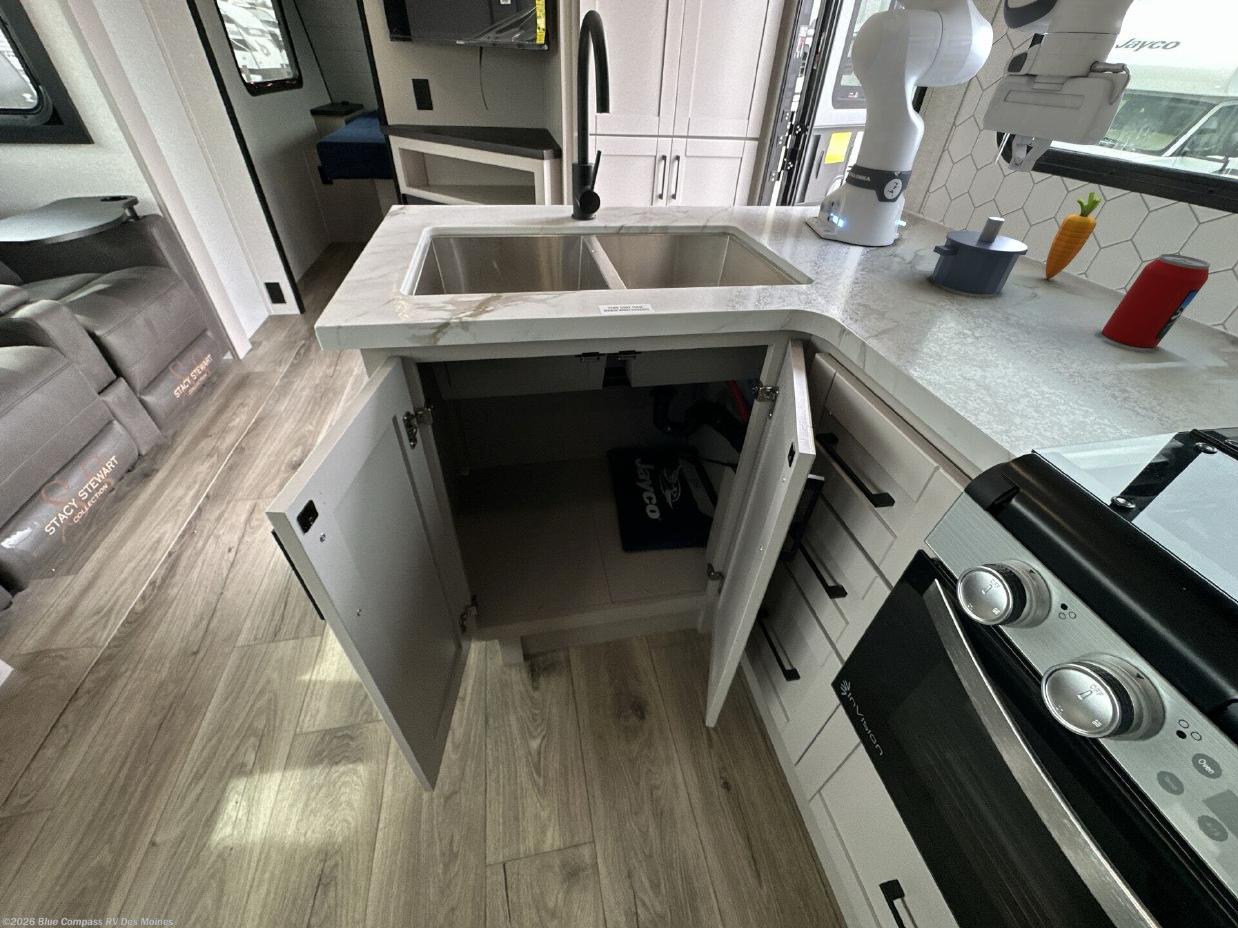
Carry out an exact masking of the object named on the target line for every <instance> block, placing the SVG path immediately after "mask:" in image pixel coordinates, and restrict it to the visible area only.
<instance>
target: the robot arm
mask: <svg viewBox="0 0 1238 928" xmlns="http://www.w3.org/2000/svg"><path fill="white" fill-rule="evenodd" d="M896 1H897V2H898V4H899V5H900V6H901V7H902V8H895V9H889V10H884V11H879V12H875V13H873V14H871V15H870V16H869V17H868V18H867V19H866V20H865V21H864V23H863V24H861V27H860V28H859V29H858V31H857V33H856V35H855V38H854V40H853V42H852V46H851V52H850V64H851V69H852V72H853V74H854V76H855V77H856V79H857V80H858V82H859V83H860V86H861V88H862V90H863V91H862V92H863V94H864V99H865V109H866V110H865V111H866V113H865V114H866V115H865V124H864V129H863V133H862V134H863V135H862V137H861V141H860V146H859V149H858V154H857V158H856V160H855V163H854V164H852V165H848V166H847V168H850V169H848V170H846V172H847V173H848V174H847V175H846V178H845V179H844V183H843V184H842V185H840V186H839V187H837V188H836V189H835V190H833V191H832V192H831V193H829V194H827V195H826V196H825V197H824V198H823V200H822V201H821V203H820V207H819V212H818V215H817V216H810V217H807V219H806V221H805V223H806V224H808V226H810V227H811V228H812V229H813V231H814V232H816V234H818V235H819V236H820V237H821V238H823V239H827V240H833V241H839V242H844V243H848V244H854V245H860V246H869V247H870V246H871V247H884V246H891V245H892V244H894V241H895V240H898V239H899V236H900V233H899V232H897V231H898V229H899V228H898V227H899V225H901V226H903V227H905V226H906V224H907V222H905V221H903V220H901V217H902V214H903V209H904V205H905V203H906V200H905V196H904V191H905V190H907V189H908V185H909V184H910V182H911V178H912V173H913V170H912V167H913V165H914V162H915V159H916V156H917V153H918V150H919V147H920V144H921V142H922V139H923V137H924V134H925V133H924V132H925V122H924V120H923V118H922V116H921V114H919V112H917V111H916V110H915V109H914V107H913V101H912V100H913V90H914V87H927V88H944V87H951V86H955V85H960V84H964V83H967V82H968V81H970V80H971V79H972V78H974V77H975V75H977V74H978V72H979V71H980V70H981V69H982V68H983V66H984V65H985V63H986V62H987V59H988V57H989V55H990V53H991V50H992V46H993V41H994V31H993V27H992V25H991V23H990V22H989V21H988V20H987V19H986V18H985V17H984V16H983V15H982V14H981V12H980V11H979V10H978V7H977V6H976V4H975V2H974V0H896ZM1138 2H1139V0H1004V2H1003V9H1002V12H1003V13H1002V14H1003V19H1004V23H1005V25H1006V26H1007V27H1008V28H1009V29H1012V30H1014V31H1017V32H1020V33H1031V34H1037V35H1044V36H1043V38H1042V40H1041V42H1040V43H1037V44H1035V45H1033V46H1031V47H1028V48H1027V49H1025V50H1023V51H1020V52H1018V53H1016V54H1013V55H1011V56H1009V57H1008V58H1007V60H1006V62H1005V63H1004V67H1003V69H1002V73H1003V74H1004V75H1005V76H1003V77H1002V78H1001V79H1000V81H998V83H997V84H996V86H995V89H994V90H993V93H992V95H991V97H990V100H989V101H988V104H987V107H986V110H985V112H984V115H983V118H982V128H983V130H986V131H991V132H998V133H1004V134H1009V135H1015V136H1014V138H1013V141H1012V144H1011V152H1012V153H1011V155H1012V157H1011V159H1010V162H1009V164H1008V166H1007V169H1008V170H1011V171H1015V172H1019V173H1030V172H1031V171H1032V169H1033V167H1034V165H1035V163H1036V161H1037V160H1039V158H1040V157H1041V156H1043V155H1044V153H1046V152H1047V151H1048V150H1049V149H1050V147H1051V145H1052V143H1053V142H1059V143H1064V144H1065V143H1066V144H1071V145H1079V146H1096V145H1097V144H1099V143H1100V142H1101V141H1102V140H1103V139H1105V138H1106V136H1107V134H1108V132H1109V131H1110V129H1111V126H1112V125H1113V122H1114V121H1115V118H1116V115H1117V114H1118V110H1119V108H1120V105H1121V103H1122V100H1123V98H1124V95H1125V90H1126V88H1127V87H1128V85H1129V83H1130V81H1131V79H1132V73H1131V70H1130V68H1129V67H1128V63H1126V62H1123V61H1119V62H1109V60H1110V58H1111V56H1112V54H1113V52H1114V50H1115V49H1116V46H1117V44H1118V42H1119V40H1120V38H1121V36H1122V34H1123V32H1124V29H1125V23H1126V20H1127V17H1128V15H1129V14H1130V13H1131V11H1132V10H1133V9H1134V8H1135V6H1136V5H1137V3H1138ZM1028 145H1030V147H1032V148H1031V149H1030V150H1029V151H1028V152H1027V149H1028V148H1027V147H1028Z"/></svg>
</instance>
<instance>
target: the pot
mask: <svg viewBox="0 0 1238 928" xmlns="http://www.w3.org/2000/svg"><path fill="white" fill-rule="evenodd" d="M1028 251H1029V248H1027V250H1026V252H1024V253H1021V254H997V253H989V252H983V251H978V250H973V249H969V248H966V247H962V246H959V245H956V244H954V243H952V242H950V241H948V240H947V239H946V241H945V243H944V245H935V246H934V248H933V251H932V252H934V253H936V254H938V255H939V256H938V260H937V262H936V264H935V265H934V268H933V271H932V273H931V276H930V279H931V280H932V281H933V282H934V283H936V284H938V285H939V286H942V287H944V288H947V289H950V290H954V291H958V292H961V293H967V294H974V295H981V296H984V295H986V296H987V295H988V296H989V295H992V296H993V295H996V294H1000V293H1001V292H1002V291H1003V288H1004V286H1005V284H1006V283H1007V281H1008V279H1009V276H1010V274H1011V273H1012V271H1013V269H1014V267H1015V265H1016V263H1017V261H1018V259H1019V257H1020V256H1026V254H1027V252H1028Z"/></svg>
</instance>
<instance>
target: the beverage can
mask: <svg viewBox="0 0 1238 928" xmlns="http://www.w3.org/2000/svg"><path fill="white" fill-rule="evenodd" d="M1210 267H1211V263H1209V262H1207V261H1206V260H1202V259H1199V258H1196V257H1192V256H1188V255H1187V256H1186V255H1182V254H1173V253H1161V254H1160V255H1159V256H1157V258H1155V259H1153V260H1152V261H1151V262H1149V263H1148V264H1146V265H1145V266H1144V267H1143V269H1142V270H1141V272H1140V273H1139V274H1138V276H1137V278H1136V279H1135V280H1134V282H1133V283H1132V285H1131V286H1130V288H1129V289H1128V290H1127V292H1126V294H1125V295H1124V296H1123V298H1122V300H1121V301H1120V302H1119V304H1118V305H1117V307H1116V309H1115V310H1114V312H1113V313H1112V314H1111V315H1110V317H1109V319H1108V320H1107V322H1106V324H1105V325H1104V326H1103V328H1102V333H1103V335H1104V336H1105V337H1107V338H1109V339H1110V340H1112V341H1114V342H1117V343H1120V344H1123V345H1127V346H1131V347H1136V348H1143V349H1144V348H1145V349H1149V348H1154V347H1157V346H1158V345H1159V344H1160V342H1161V341H1162V340H1163V339H1164V338H1165V336H1166V335H1167V334H1168V333H1169V331H1170V330H1171V329H1172V327H1173V326H1174V325H1175V324H1176V322H1177V321H1178V320H1179V318H1180V317H1181V315H1182V314H1183V313H1184V312H1185V310H1186V309H1187V308H1188V307H1189V305H1190V304H1191V303H1192V301H1193V300H1194V298H1195V297H1196V296H1197V295H1198V293H1199V292H1200V291H1201V289H1202V288H1203V286H1204V285H1205V284H1206V283H1207V281H1208V280H1209V273H1210V272H1209V271H1210V269H1209V268H1210Z"/></svg>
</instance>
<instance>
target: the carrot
mask: <svg viewBox="0 0 1238 928" xmlns="http://www.w3.org/2000/svg"><path fill="white" fill-rule="evenodd" d="M1095 197H1096V192H1095V191H1091V192H1089V193H1088V197H1087V198H1088V200H1087V203H1085V201H1084V200H1083V199H1082V198H1078V199H1077V200H1076V202H1077V203H1078V204H1079V207H1080V213H1079V214H1070V215H1068V216H1066V217H1065V218H1063V219H1064V220H1063V221H1062V223H1061V225H1060V226H1059V228H1058V230H1057V232H1056V235H1055V237H1054V238H1053V240H1052V243H1051V246H1050V249H1049V251H1048V255H1047V258H1046V263H1045V277H1046V279H1047V280H1050V279H1052V278H1054V277H1055V276H1057V275H1058V274H1060V273H1061V272H1062V271H1063V270H1064V269H1065V268H1066V267H1067V266H1068V265H1070V264H1071V262H1072V261H1073V260H1074V259H1075V258H1076V256H1077V255H1078V254H1079V252H1080V251H1081V250H1082V248H1083V247H1084V246H1085V244H1086V243H1087V241H1088V240H1089V238H1090V236H1091V235H1092V233H1093V231H1094V230H1095V229H1096V226H1097V224H1098V223H1097V220H1096V219H1095V218H1094V217H1093V216H1091V214H1092V213H1093V211H1095V209H1096V208H1097V207H1098V206H1099V205H1100V203H1101V202H1102V200H1103V199H1102V197H1097V198H1095Z"/></svg>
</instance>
